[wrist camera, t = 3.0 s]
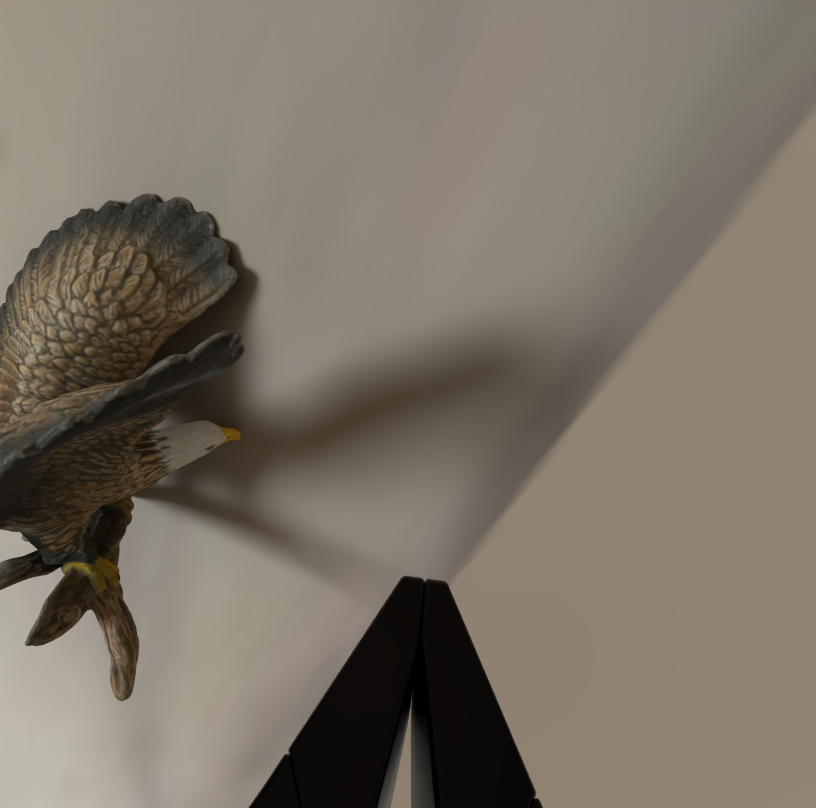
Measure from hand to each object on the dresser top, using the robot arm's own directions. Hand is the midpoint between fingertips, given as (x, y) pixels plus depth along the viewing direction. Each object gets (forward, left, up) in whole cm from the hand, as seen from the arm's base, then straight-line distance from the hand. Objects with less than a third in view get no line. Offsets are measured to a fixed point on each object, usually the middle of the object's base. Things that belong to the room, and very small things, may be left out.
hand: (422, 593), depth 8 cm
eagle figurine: (+7, -2, -4) cm, 8 cm away
